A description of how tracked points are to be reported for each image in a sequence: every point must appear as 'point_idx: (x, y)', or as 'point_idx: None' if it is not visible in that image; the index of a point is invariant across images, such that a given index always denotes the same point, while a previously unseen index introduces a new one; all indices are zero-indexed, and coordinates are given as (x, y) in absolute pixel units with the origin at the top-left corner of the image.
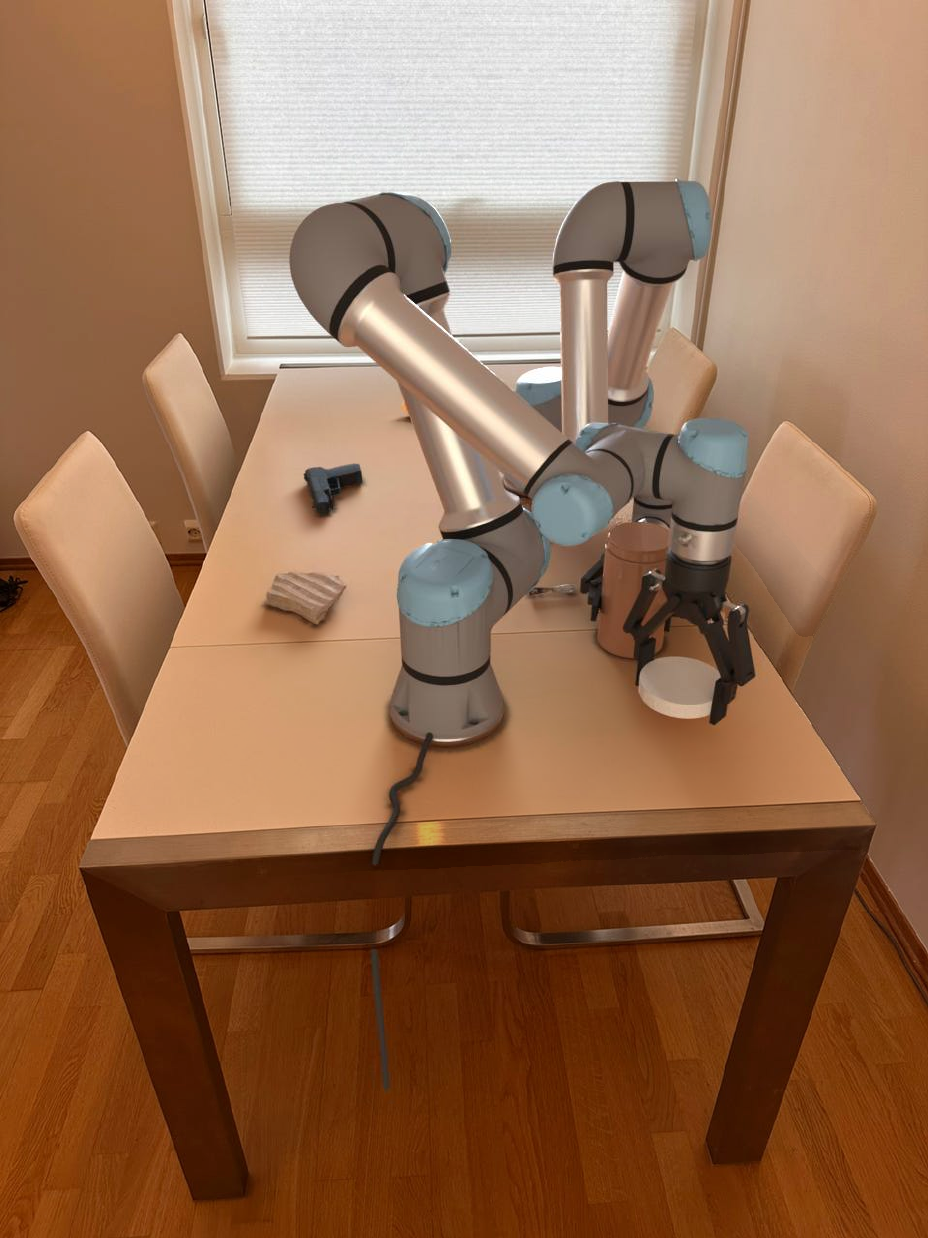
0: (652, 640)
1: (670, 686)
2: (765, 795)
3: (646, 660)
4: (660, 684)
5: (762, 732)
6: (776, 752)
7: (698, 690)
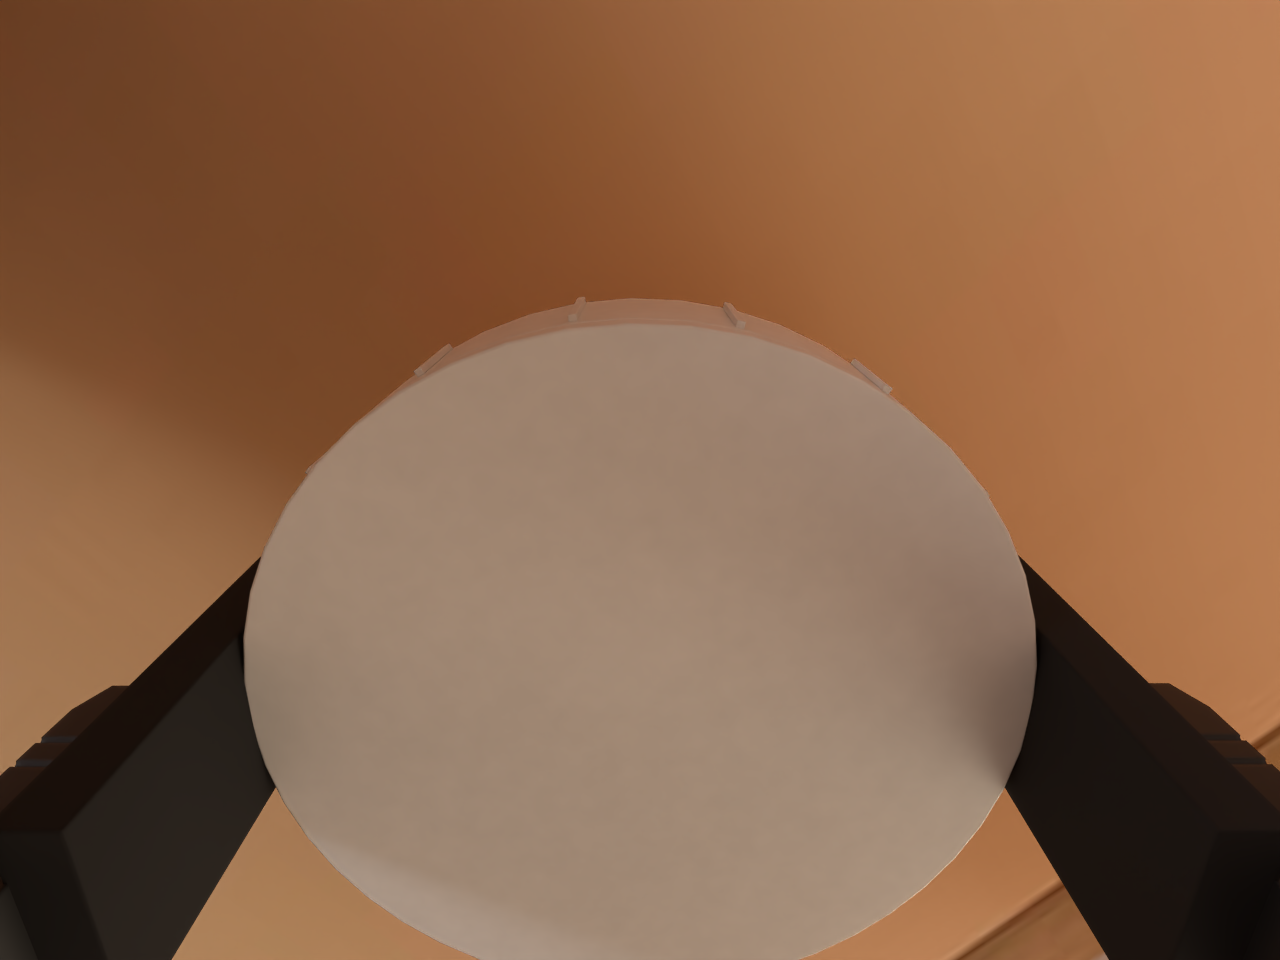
0: (62, 876)
1: (625, 845)
2: (1277, 667)
3: (235, 783)
4: (549, 873)
5: (1107, 221)
6: (1243, 338)
7: (837, 747)
